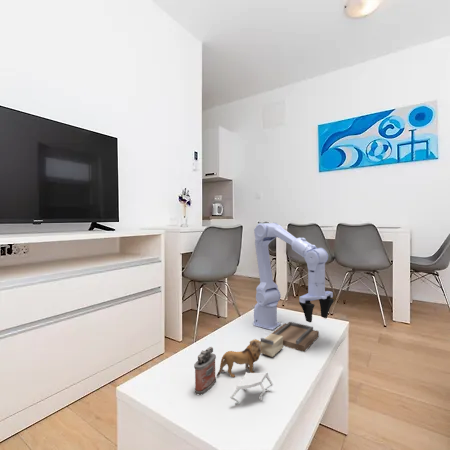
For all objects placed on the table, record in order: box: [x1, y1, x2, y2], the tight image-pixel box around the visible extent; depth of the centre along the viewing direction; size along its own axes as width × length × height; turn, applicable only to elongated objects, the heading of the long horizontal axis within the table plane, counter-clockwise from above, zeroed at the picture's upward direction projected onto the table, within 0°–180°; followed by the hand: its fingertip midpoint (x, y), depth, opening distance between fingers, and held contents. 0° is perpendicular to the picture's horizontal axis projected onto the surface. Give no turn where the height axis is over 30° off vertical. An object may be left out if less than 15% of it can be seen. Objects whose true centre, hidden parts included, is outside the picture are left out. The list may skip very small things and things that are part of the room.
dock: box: [271, 321, 319, 353], centre depth 105 cm, size 14×15×3 cm
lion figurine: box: [215, 338, 262, 378], centre depth 82 cm, size 15×5×9 cm, turn 110°
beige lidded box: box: [260, 332, 284, 358], centre depth 95 cm, size 4×8×6 cm, turn 143°
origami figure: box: [229, 371, 274, 405], centre depth 71 cm, size 12×8×5 cm
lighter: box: [193, 346, 217, 396], centre depth 76 cm, size 8×3×10 cm, turn 148°
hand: (316, 319), depth 99 cm, fingers open, 7 cm apart
